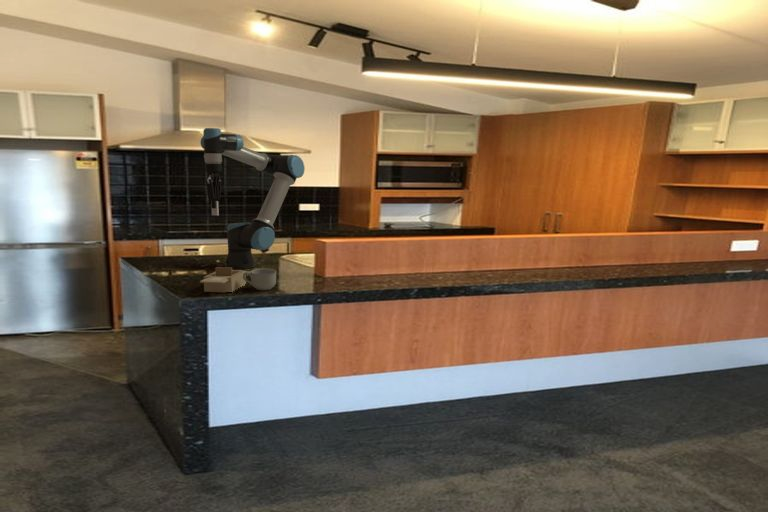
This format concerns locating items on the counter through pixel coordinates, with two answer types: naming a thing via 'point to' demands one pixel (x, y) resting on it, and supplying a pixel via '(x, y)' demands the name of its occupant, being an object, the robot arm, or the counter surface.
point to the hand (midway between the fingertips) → (215, 215)
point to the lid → (219, 275)
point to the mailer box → (226, 283)
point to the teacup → (262, 278)
